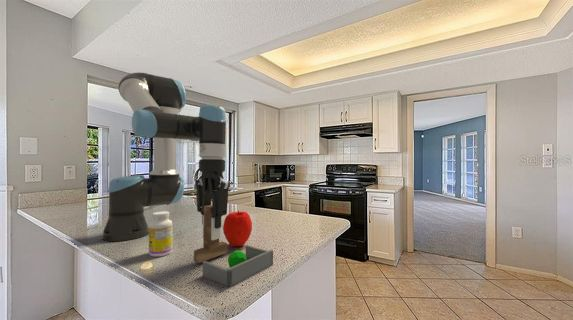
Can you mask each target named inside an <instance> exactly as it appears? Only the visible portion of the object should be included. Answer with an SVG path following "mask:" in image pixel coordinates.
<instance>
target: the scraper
mask: <svg viewBox="0 0 573 320" xmlns="http://www.w3.org/2000/svg"><path fill="white" fill-rule="evenodd" d="M217 213H218V212H217ZM211 216H213V207H212V204H211V205H208V206H204V233H203V232H202V238H203V243H202V244H203V245H202V246H203V247H200V248H197V249H194V250H193V261H194V262H195V263H198V264H200V263H203V262H204V261H208V260H211V259H214V258H216V257H218V256H221V255H224V254H226V253H228V243H227V242H225V241H220V238H219V239H216V240H211Z"/></svg>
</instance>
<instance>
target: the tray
mask: <svg viewBox="0 0 573 320" xmlns="http://www.w3.org/2000/svg"><path fill="white" fill-rule="evenodd" d="M245 255H246V258H247V260H246V261H244V262H242V263H240V264H237V265H235V266H233V267H231V268H230V267H228V268H226V267H223V266H220V265H218V264H215V263H212V262H210V261H208V260H206V261H203V262H202V277H204V278H207V279H209V280H212V281H214V282H217V284H218V283H219V284H221V285H222V286H223V285H224V286H226V287H228V288H231V287H233V286H235V285H237V284H238V283H240V282H242V281H245V280H246V279H248V278H250V277H252V276H254V275H255V274H258V273H260V272H261V271H263V270H265V269H267V268H269V267H271V266H273V265H274V250H273V249H269V250H267V249H264V248H259V247H257V246H256V247H255V246H252V245H249V244H247V245H245Z"/></svg>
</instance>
